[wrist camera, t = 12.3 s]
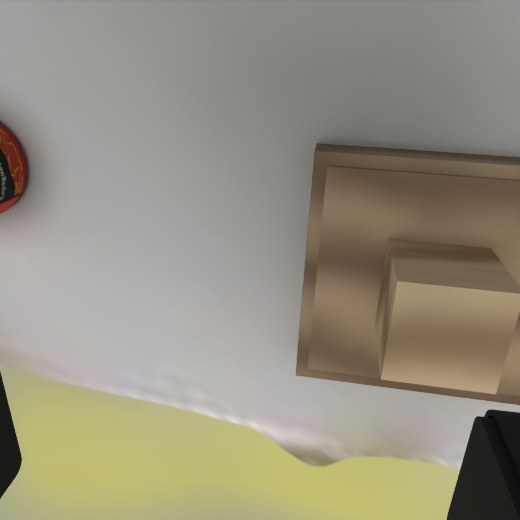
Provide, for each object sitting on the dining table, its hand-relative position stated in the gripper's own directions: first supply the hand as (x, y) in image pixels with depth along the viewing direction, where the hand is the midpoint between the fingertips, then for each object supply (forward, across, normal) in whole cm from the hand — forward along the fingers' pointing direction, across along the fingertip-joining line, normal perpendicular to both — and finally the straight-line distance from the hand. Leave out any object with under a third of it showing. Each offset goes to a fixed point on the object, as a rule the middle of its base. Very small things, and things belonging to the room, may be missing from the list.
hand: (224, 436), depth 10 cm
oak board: (+24, -9, +7) cm, 26 cm away
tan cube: (+21, -9, +7) cm, 24 cm away
